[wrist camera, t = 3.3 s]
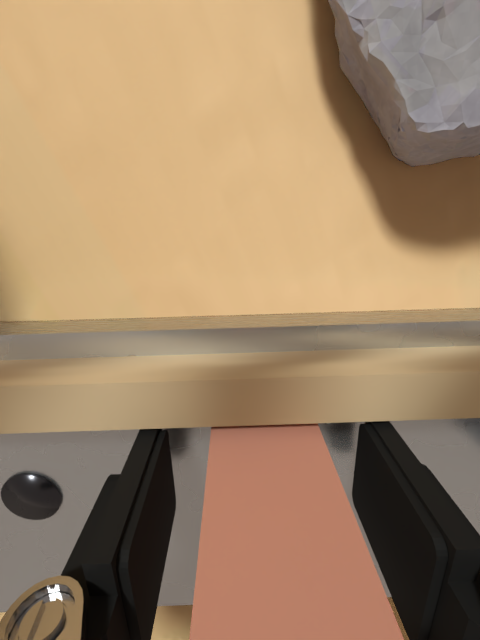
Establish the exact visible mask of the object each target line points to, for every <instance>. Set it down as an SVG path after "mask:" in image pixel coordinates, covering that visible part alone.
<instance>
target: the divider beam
mask: <svg viewBox="0 0 480 640" xmlns="http://www.w3.org/2000/svg"><path fill="white" fill-rule="evenodd" d="M464 418H480V346H449V347H417V348H384V349H352V350H320V351H287V352H255V353H222V354H190V355H157V356H125V357H92V358H60V359H27V360H0V434H12V433H42V432H72V431H102V430H132V429H162V428H193V427H223V426H253V425H283V424H313V423H343V422H373V421H403V420H433V419H464Z"/></svg>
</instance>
